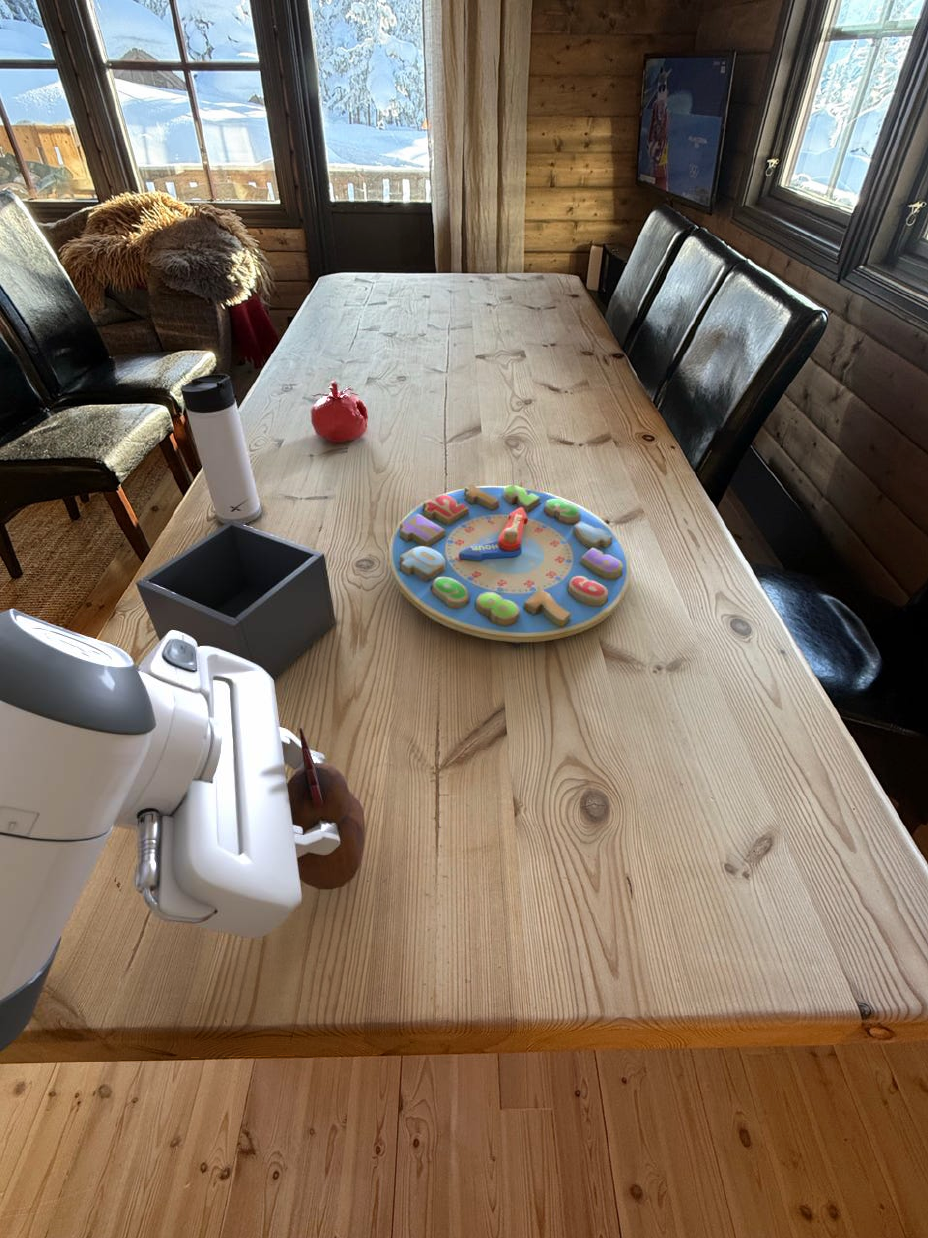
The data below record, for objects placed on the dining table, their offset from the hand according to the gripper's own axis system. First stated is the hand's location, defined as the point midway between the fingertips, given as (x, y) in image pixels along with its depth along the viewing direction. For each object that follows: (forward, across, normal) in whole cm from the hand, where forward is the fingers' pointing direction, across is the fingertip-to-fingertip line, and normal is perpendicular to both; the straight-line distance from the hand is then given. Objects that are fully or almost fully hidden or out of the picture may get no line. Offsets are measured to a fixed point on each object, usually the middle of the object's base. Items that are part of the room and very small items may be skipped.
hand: (327, 802), depth 48 cm
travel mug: (+3, +59, +10) cm, 60 cm away
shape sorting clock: (+26, +34, -13) cm, 45 cm away
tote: (+3, +31, +10) cm, 33 cm away
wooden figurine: (+6, 0, +6) cm, 9 cm away
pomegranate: (+16, +80, -2) cm, 82 cm away
